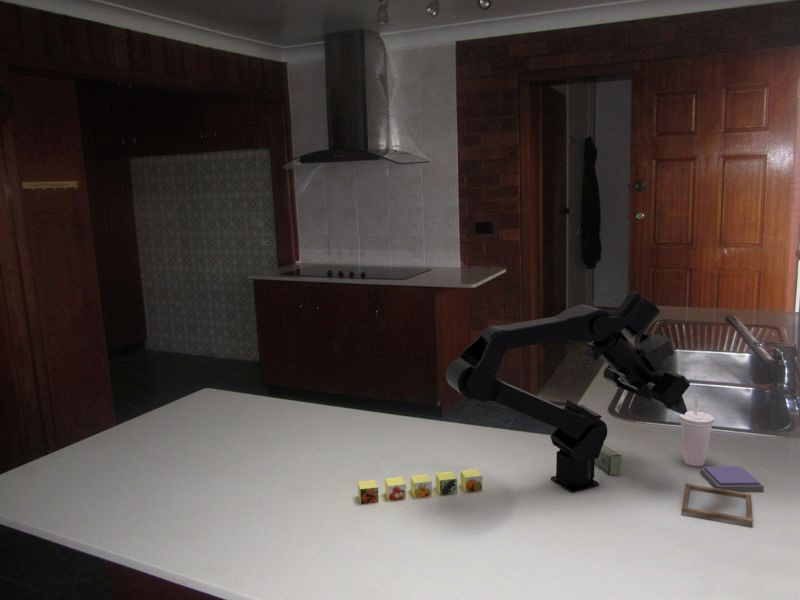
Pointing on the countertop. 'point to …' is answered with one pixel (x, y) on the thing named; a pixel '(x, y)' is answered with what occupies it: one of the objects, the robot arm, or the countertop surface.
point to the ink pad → (731, 479)
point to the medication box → (609, 461)
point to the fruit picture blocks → (420, 486)
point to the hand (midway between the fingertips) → (668, 405)
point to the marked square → (717, 504)
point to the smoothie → (695, 435)
